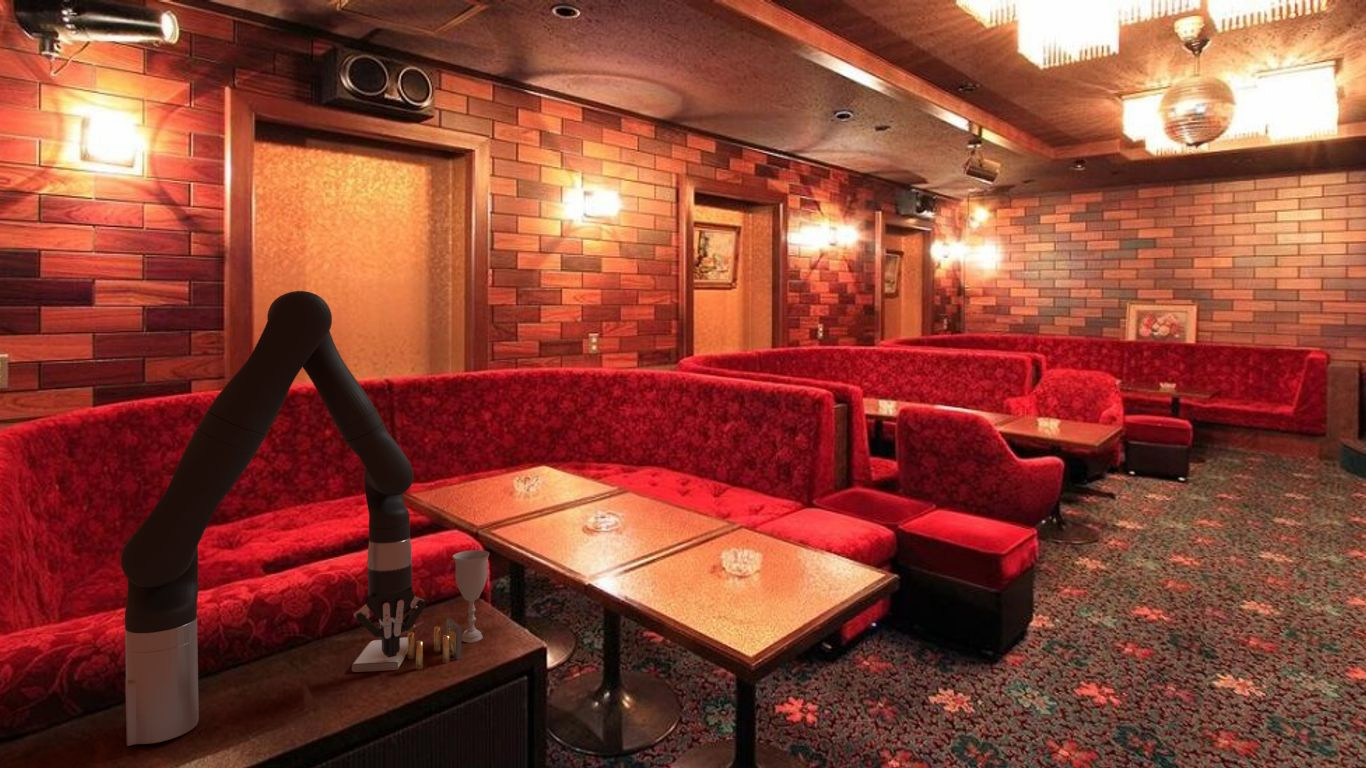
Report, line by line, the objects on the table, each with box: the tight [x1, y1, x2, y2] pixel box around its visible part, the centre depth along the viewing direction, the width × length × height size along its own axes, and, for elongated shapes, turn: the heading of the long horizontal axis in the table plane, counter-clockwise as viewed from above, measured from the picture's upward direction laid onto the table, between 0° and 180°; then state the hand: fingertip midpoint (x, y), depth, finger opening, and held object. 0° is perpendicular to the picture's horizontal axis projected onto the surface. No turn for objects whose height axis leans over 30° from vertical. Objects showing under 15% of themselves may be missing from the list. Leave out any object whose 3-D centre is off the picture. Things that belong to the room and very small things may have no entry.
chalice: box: [452, 549, 490, 644], centre depth 145 cm, size 7×7×18 cm
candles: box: [407, 617, 463, 671], centre depth 137 cm, size 9×6×6 cm
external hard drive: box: [351, 636, 408, 673], centre depth 138 cm, size 2×8×12 cm
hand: (391, 655), depth 133 cm, fingers closed
